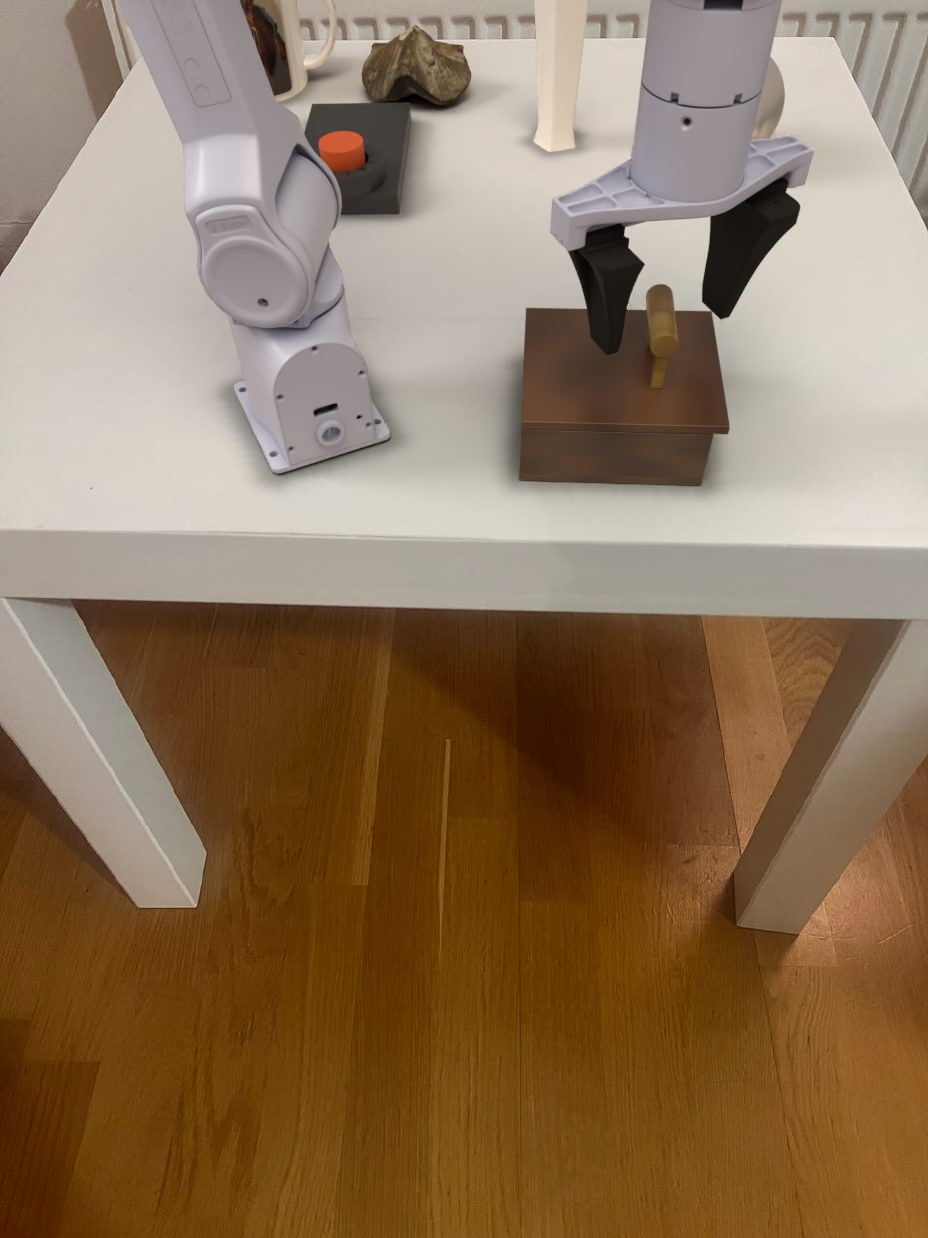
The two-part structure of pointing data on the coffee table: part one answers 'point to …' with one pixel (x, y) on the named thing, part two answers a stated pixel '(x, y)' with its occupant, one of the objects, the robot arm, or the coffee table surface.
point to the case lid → (624, 372)
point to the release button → (342, 151)
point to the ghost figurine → (770, 103)
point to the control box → (367, 152)
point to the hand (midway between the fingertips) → (660, 326)
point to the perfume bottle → (558, 69)
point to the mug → (285, 43)
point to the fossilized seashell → (416, 69)
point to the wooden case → (613, 456)
